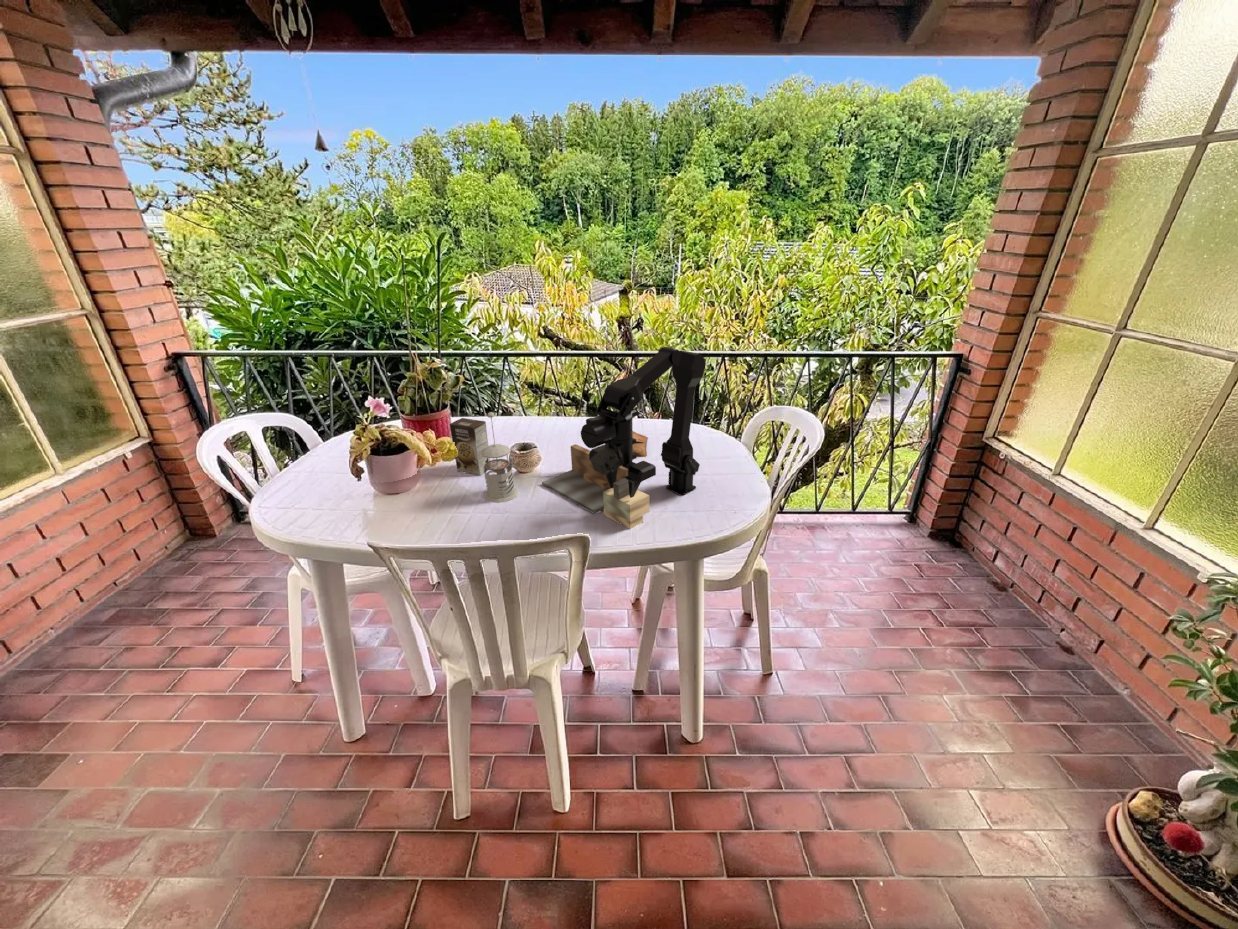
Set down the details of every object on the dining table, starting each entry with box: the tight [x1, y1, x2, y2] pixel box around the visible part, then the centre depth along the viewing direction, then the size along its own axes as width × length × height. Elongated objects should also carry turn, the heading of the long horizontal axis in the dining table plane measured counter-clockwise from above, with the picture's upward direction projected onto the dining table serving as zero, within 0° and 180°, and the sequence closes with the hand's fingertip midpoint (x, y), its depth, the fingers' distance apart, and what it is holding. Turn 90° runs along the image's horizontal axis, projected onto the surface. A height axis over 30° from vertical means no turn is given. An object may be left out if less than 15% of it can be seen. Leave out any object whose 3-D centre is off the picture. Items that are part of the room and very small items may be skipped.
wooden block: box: [603, 478, 651, 529], centre depth 135 cm, size 10×7×11 cm
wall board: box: [541, 444, 628, 515], centre depth 149 cm, size 24×14×9 cm, turn 43°
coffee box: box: [449, 417, 491, 476], centre depth 162 cm, size 9×6×16 cm
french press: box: [481, 411, 519, 504], centre depth 145 cm, size 10×12×25 cm
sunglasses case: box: [633, 431, 648, 458], centre depth 179 cm, size 18×7×7 cm
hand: (622, 492), depth 133 cm, fingers open, 7 cm apart
